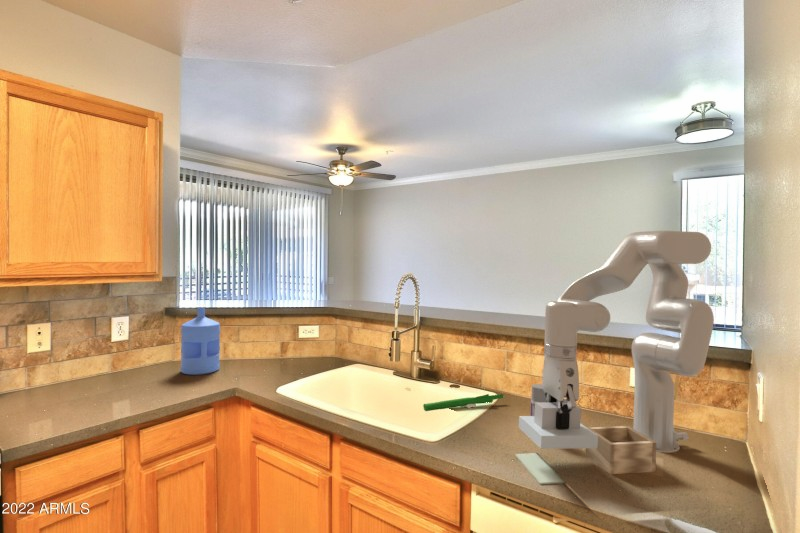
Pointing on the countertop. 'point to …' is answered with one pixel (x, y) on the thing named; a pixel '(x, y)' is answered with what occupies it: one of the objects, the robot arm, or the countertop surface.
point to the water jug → (200, 345)
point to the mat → (539, 468)
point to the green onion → (461, 402)
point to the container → (537, 396)
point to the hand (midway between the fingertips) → (557, 424)
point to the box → (623, 450)
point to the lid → (549, 436)
